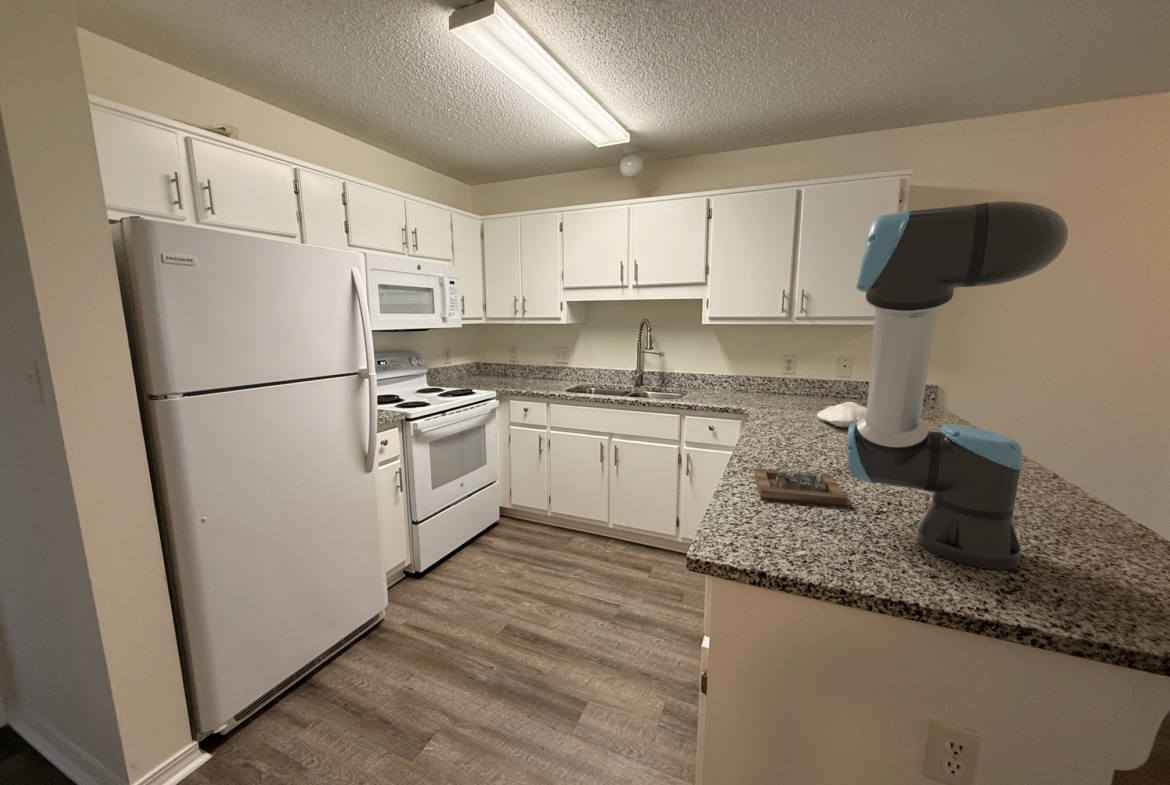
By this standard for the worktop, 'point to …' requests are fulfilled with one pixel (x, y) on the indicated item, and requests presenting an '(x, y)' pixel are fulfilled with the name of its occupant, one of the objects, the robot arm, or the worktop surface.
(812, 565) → the worktop surface
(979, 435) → the robot arm
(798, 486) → the egg carton
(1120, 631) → the worktop surface
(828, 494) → the pocket board
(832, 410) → the crumpled cloth
